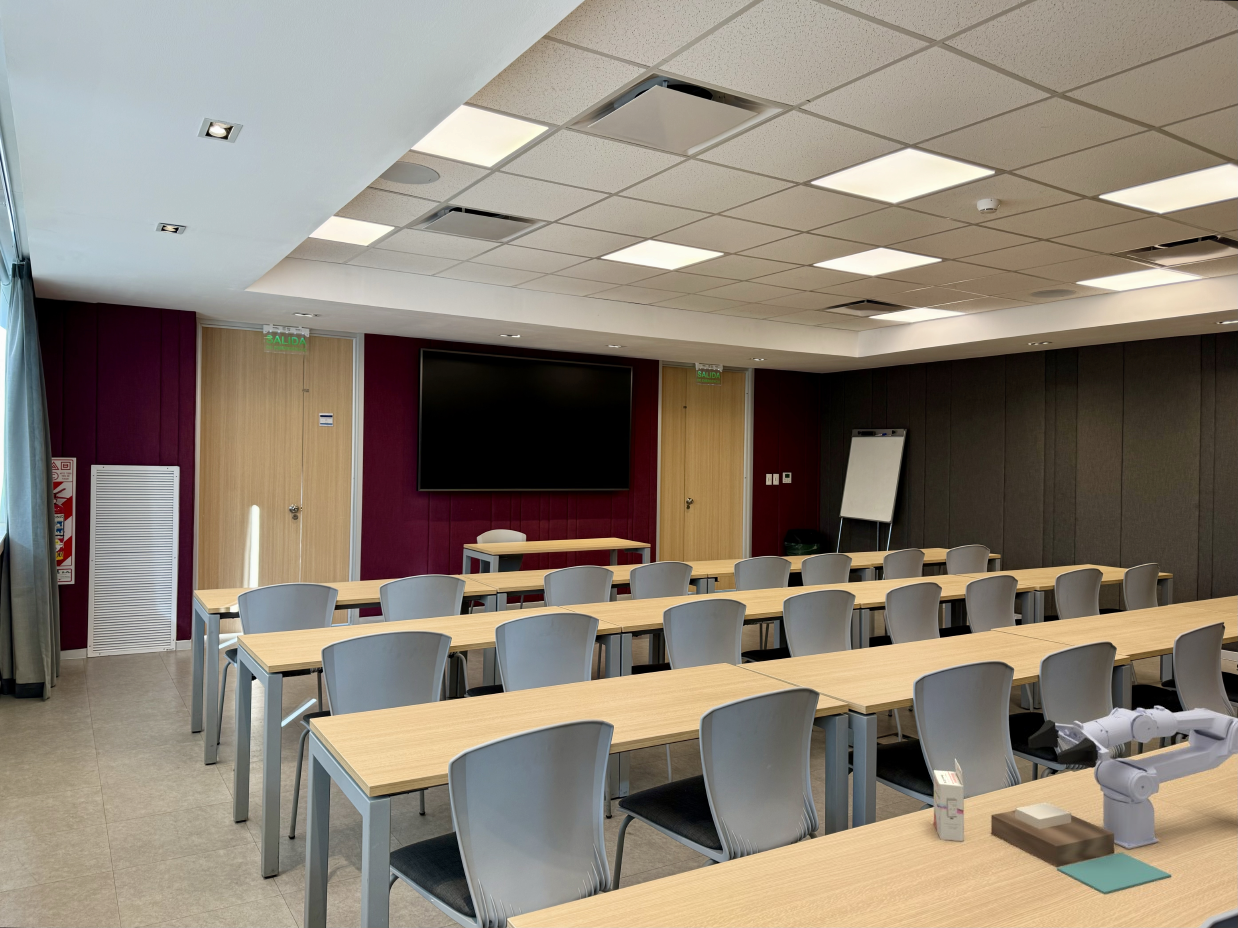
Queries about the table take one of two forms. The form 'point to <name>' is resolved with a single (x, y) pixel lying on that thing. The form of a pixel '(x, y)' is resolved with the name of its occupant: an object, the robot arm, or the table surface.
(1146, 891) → the table surface
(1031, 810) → the tile
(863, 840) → the table surface
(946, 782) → the ink cartridge box
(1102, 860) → the mat
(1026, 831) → the stand
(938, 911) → the table surface
